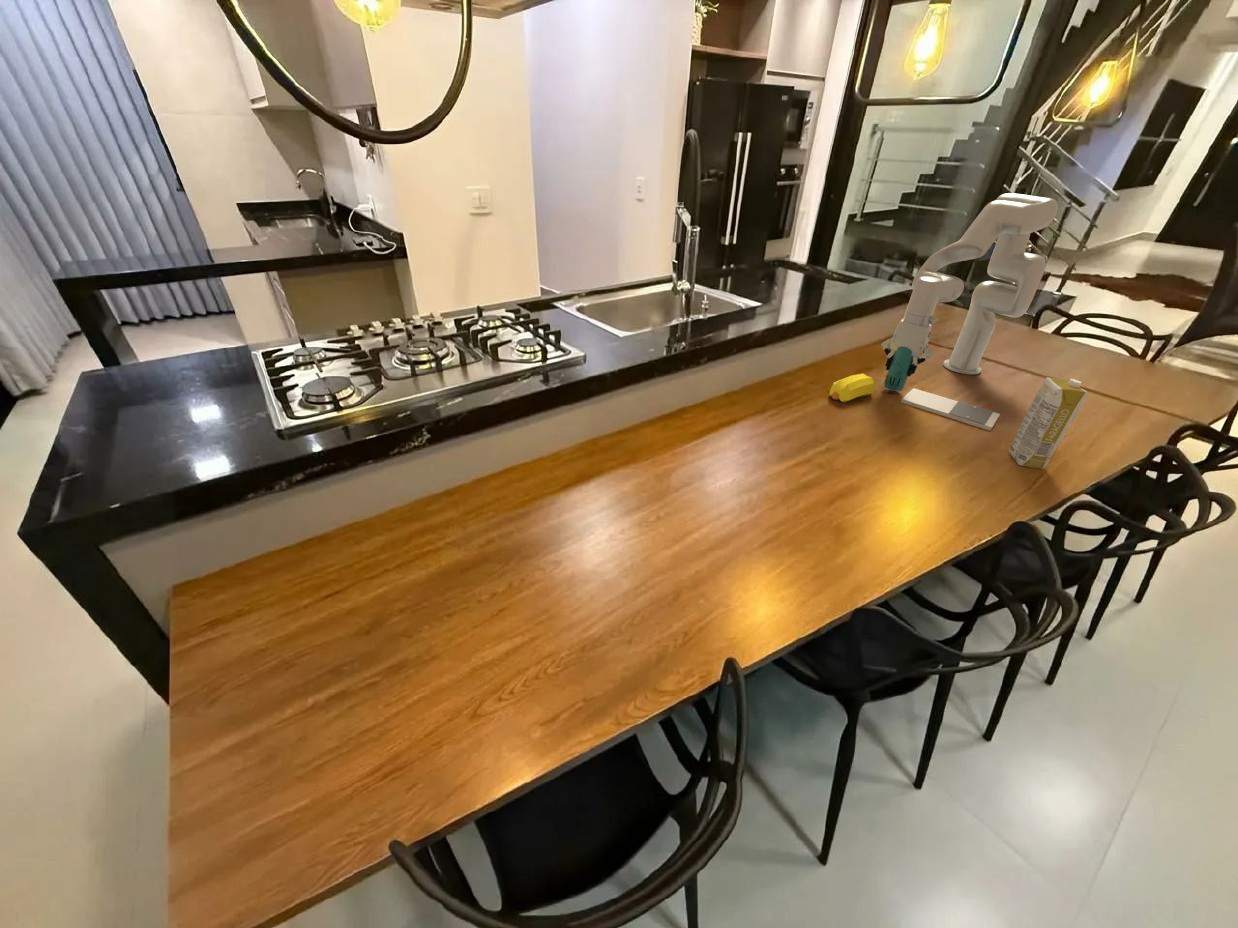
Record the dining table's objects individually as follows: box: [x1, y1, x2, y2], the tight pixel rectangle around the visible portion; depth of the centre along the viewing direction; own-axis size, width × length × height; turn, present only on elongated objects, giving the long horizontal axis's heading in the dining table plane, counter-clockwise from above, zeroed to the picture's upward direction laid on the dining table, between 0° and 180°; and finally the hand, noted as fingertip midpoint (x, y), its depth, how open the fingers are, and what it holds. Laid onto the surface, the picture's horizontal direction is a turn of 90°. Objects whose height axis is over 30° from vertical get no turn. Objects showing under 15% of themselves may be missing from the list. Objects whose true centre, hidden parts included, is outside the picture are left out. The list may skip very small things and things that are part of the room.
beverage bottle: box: [883, 347, 913, 392], centre depth 176 cm, size 6×7×20 cm
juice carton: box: [1008, 376, 1089, 469], centre depth 141 cm, size 9×8×24 cm
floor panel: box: [900, 387, 1001, 431], centre depth 172 cm, size 12×26×2 cm, turn 49°
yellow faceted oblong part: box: [829, 373, 875, 403], centre depth 176 cm, size 18×7×8 cm
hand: (899, 371), depth 178 cm, fingers closed on beverage bottle, 6 cm apart
